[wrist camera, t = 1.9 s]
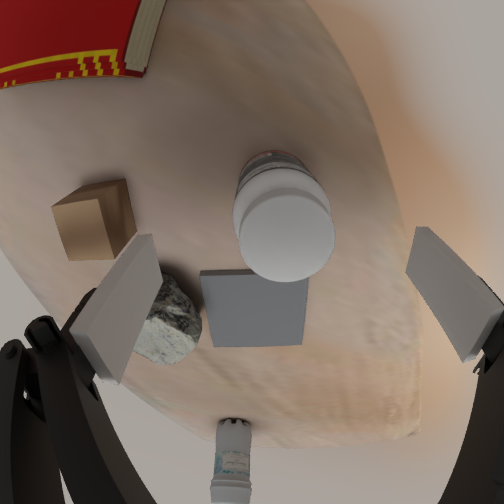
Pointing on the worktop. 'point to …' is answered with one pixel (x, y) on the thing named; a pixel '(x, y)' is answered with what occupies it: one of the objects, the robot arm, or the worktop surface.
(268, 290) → the coaster
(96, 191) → the walnut block
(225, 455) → the bottle
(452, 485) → the robot arm
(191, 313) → the stone
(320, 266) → the pill bottle
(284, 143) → the worktop surface
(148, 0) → the book
